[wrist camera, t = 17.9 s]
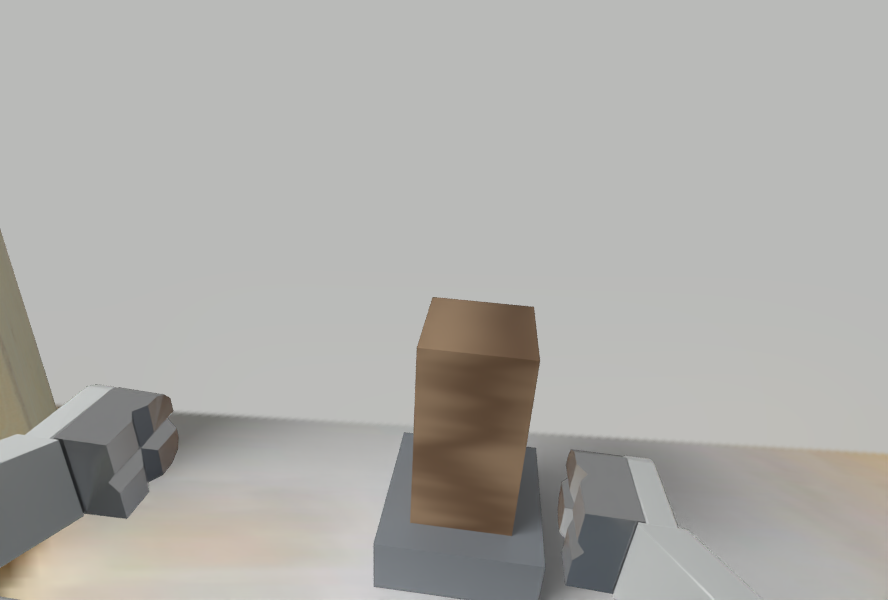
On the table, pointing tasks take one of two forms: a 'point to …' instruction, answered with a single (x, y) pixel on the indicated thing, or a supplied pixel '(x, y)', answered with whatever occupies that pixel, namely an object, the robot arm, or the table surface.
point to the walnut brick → (472, 413)
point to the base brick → (459, 545)
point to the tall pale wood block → (19, 361)
